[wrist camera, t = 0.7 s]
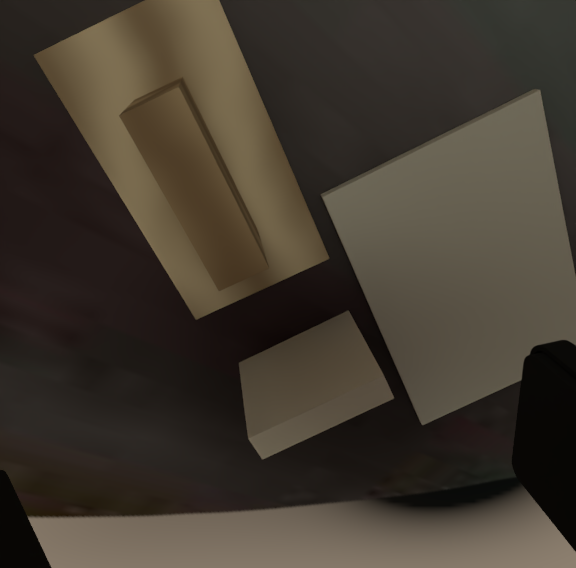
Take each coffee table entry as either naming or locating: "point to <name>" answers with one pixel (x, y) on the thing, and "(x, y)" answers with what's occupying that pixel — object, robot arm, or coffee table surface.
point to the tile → (309, 385)
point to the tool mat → (463, 255)
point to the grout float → (188, 147)
